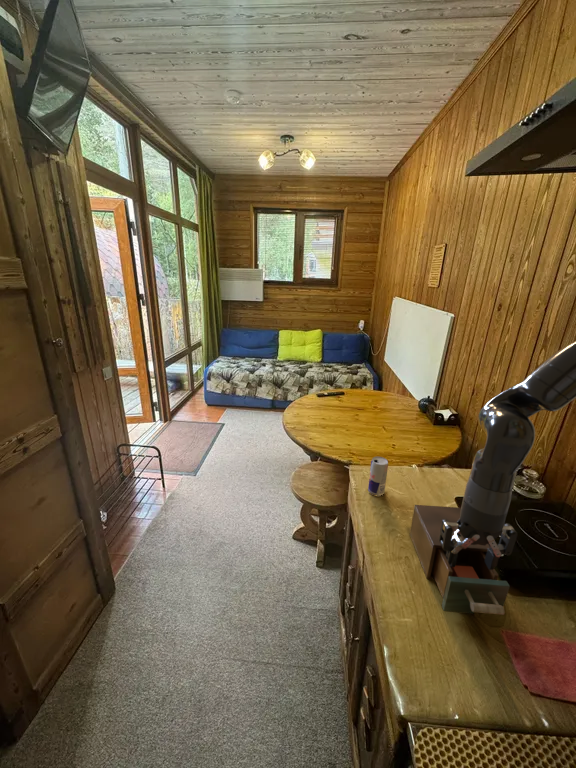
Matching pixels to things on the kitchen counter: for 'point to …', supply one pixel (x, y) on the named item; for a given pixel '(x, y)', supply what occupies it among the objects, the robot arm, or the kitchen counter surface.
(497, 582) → the drawer
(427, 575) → the cabinet
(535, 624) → the kitchen counter surface
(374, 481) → the energy drink
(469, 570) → the block
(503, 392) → the robot arm
